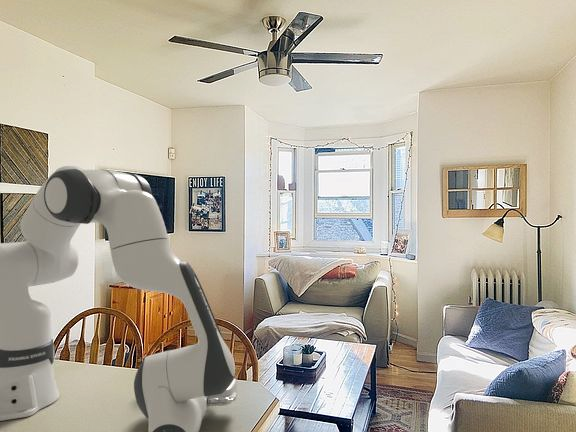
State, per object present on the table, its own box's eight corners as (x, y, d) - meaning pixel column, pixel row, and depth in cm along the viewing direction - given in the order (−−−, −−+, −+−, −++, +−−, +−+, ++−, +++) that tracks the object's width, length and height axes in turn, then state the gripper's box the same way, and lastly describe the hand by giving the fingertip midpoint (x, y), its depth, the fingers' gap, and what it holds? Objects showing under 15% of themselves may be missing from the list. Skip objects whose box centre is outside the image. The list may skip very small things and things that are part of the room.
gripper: (235, 386, 91) (240, 363, 105) (137, 388, 90) (155, 365, 104) (235, 416, 91) (240, 389, 105) (137, 418, 90) (155, 390, 104)
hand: (197, 377), depth 105 cm, fingers open, 8 cm apart
